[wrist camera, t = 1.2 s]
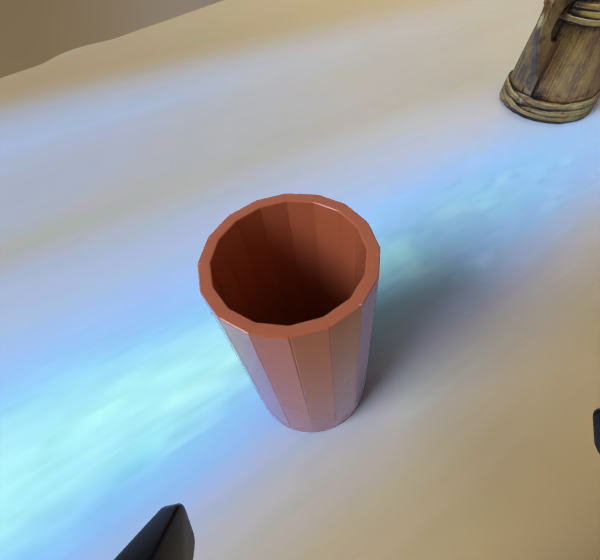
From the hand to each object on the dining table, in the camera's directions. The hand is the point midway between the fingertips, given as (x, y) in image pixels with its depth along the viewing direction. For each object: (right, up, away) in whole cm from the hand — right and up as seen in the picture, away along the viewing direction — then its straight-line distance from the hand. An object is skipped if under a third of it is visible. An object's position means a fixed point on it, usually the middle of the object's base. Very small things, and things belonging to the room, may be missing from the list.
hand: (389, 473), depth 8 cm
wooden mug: (+22, +22, +31) cm, 44 cm away
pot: (-1, -2, +16) cm, 16 cm away
